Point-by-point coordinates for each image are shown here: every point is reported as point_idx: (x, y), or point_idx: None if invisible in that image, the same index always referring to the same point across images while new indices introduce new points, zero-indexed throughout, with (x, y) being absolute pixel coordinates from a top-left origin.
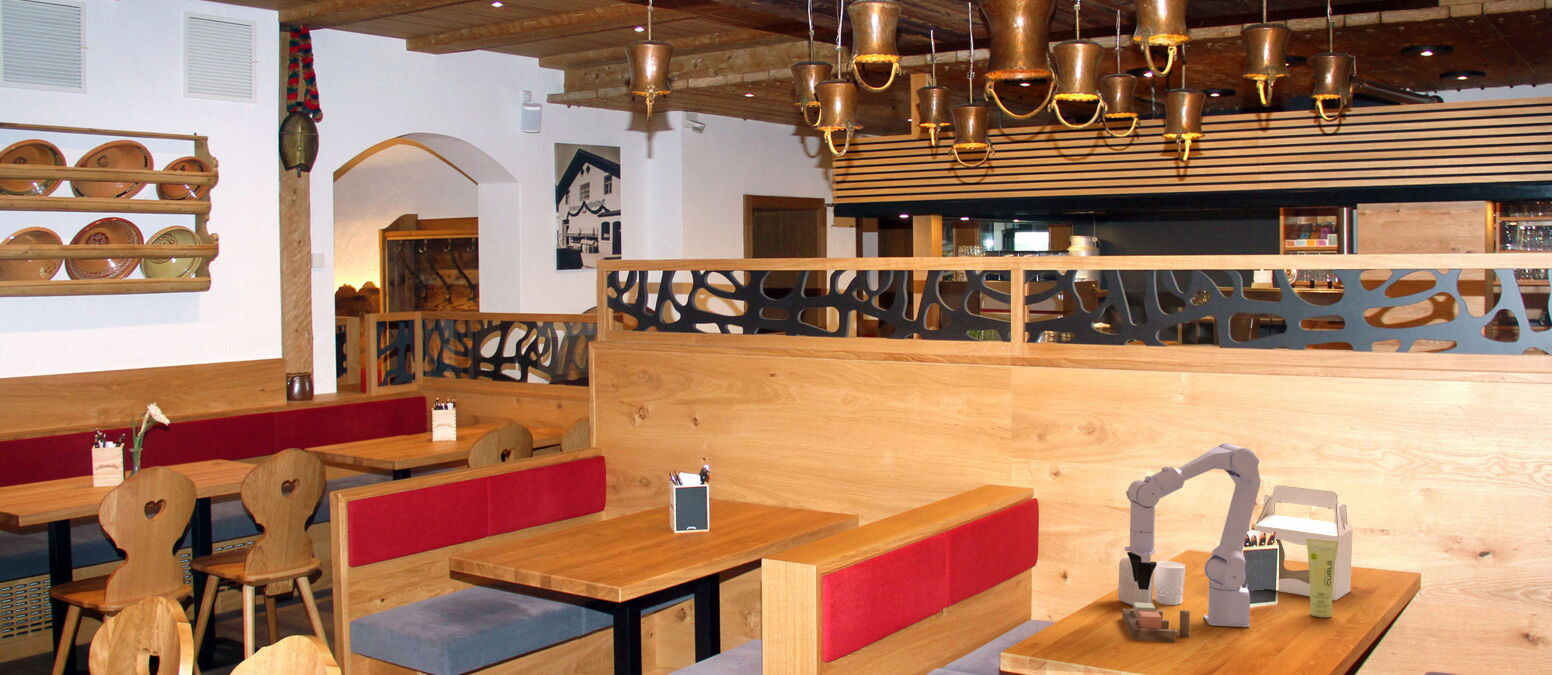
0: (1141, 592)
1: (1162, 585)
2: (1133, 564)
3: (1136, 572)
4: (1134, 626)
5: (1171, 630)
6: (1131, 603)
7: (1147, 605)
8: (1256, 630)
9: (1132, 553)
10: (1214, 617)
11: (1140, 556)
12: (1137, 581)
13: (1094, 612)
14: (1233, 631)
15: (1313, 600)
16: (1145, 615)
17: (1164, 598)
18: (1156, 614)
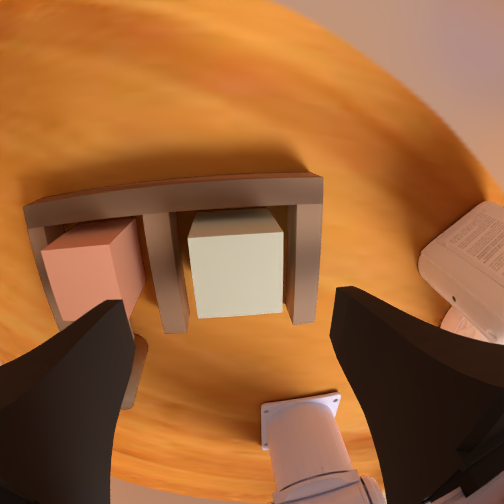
0: (450, 275)
1: (477, 333)
2: (408, 361)
3: (21, 362)
4: (53, 209)
5: (62, 323)
6: (450, 230)
7: (236, 291)
8: (246, 451)
9: (495, 429)
10: (279, 421)
11: (422, 469)
12: (93, 319)
13: (374, 86)
14: (227, 429)
15: None
16: (56, 266)
17: (455, 319)
18: (89, 310)
